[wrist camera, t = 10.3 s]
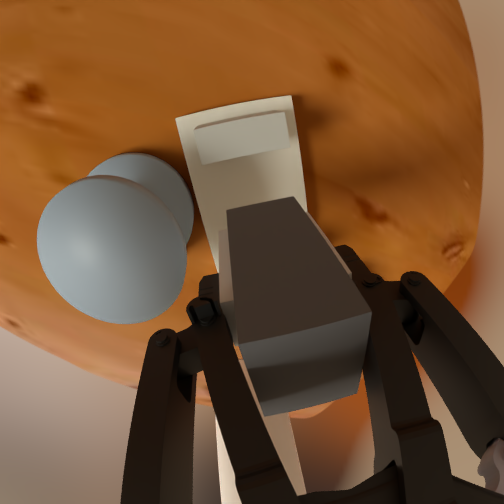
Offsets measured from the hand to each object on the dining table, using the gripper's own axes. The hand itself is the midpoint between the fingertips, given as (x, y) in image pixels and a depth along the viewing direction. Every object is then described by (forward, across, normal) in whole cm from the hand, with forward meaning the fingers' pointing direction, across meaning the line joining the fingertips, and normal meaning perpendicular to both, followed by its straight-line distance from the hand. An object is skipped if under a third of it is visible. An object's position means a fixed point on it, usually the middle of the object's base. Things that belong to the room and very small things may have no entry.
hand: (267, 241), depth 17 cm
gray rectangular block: (0, 0, 0) cm, 0 cm away
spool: (+8, -11, +1) cm, 13 cm away
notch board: (+8, 0, 0) cm, 8 cm away
